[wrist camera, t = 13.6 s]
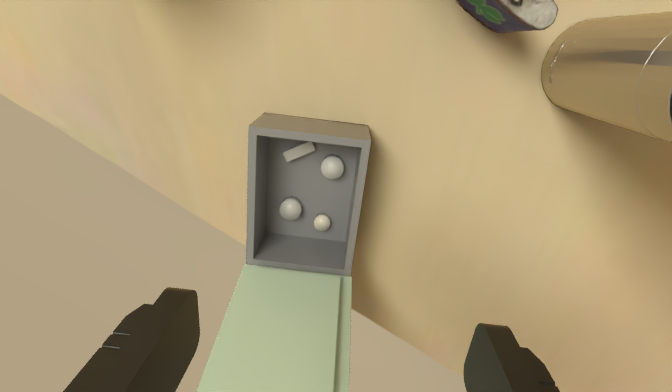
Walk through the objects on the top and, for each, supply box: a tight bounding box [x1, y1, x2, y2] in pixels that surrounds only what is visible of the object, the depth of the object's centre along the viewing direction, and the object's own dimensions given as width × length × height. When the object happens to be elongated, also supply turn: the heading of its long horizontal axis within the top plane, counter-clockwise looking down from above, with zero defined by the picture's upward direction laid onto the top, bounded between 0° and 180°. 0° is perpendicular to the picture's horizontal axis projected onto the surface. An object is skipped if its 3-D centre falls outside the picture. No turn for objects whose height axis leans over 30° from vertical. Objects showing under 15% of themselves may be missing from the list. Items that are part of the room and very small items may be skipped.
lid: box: [197, 264, 352, 392], centre depth 33 cm, size 12×23×4 cm
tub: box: [246, 113, 371, 276], centre depth 42 cm, size 12×16×7 cm
